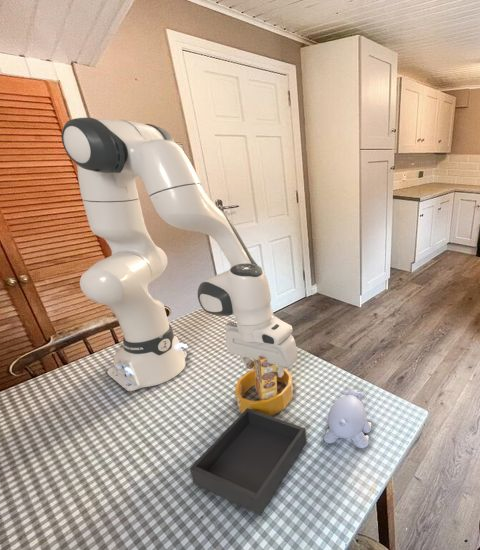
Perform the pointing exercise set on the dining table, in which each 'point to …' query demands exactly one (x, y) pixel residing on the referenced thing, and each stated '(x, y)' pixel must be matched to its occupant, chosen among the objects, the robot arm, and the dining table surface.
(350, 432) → the hippopotamus toy
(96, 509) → the dining table surface
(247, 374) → the ring
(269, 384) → the candy box
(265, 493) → the bin
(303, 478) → the dining table surface
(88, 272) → the robot arm
